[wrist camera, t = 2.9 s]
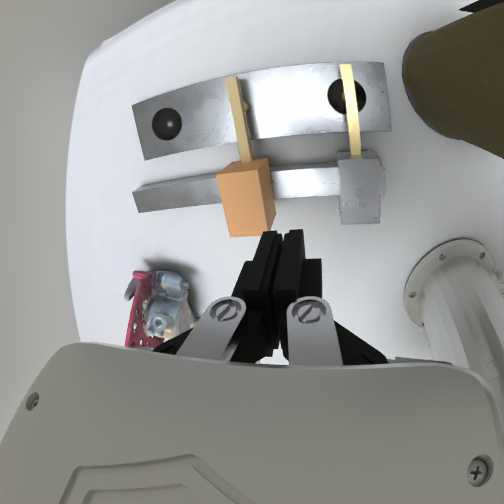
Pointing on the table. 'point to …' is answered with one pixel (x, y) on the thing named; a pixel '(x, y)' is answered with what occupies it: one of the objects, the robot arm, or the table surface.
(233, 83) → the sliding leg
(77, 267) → the table surface
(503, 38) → the canister
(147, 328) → the brake caliper
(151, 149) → the strip
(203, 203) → the rail
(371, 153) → the fixed leg
